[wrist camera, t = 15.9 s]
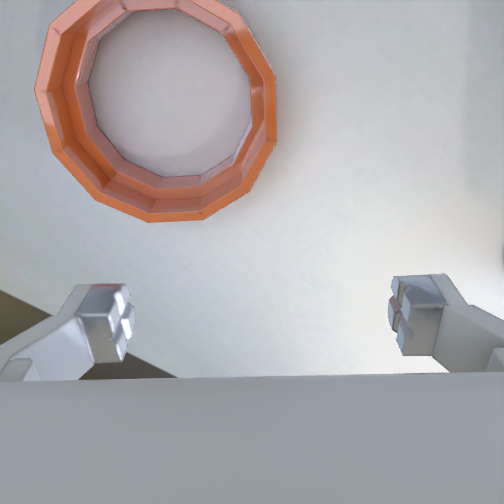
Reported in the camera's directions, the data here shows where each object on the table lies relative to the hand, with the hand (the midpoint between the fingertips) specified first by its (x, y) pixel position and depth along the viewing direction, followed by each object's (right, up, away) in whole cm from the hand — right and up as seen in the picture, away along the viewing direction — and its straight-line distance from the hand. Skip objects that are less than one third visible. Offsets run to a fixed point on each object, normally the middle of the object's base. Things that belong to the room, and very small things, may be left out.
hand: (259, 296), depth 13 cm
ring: (-7, +15, +24) cm, 29 cm away
